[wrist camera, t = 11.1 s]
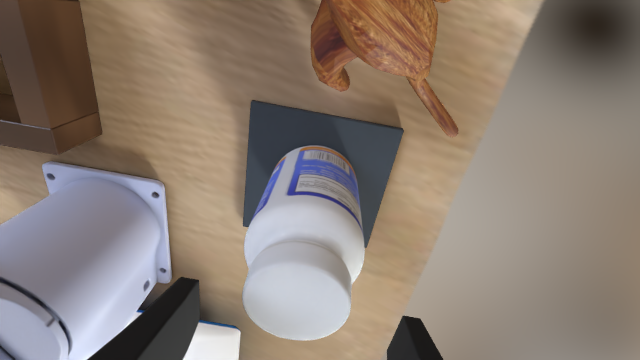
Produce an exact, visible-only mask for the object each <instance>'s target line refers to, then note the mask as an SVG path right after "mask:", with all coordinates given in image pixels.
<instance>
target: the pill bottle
mask: <svg viewBox="0 0 640 360" xmlns="http://www.w3.org/2000/svg"><path fill="white" fill-rule="evenodd" d="M244 253H245V258H246V262H247V265H248V267H249V271H248V275H247V278H246V281H245V285H244V288H243V292H242V301H243V306H244V309H245V311H246V313H247V314H248V316H249V317H250V319H251V320H252V321H253V322H254V323H255V324H256V325H258V326H259V327H260V328H262V329H263V330H265V331H267V332H269V333H271V334H273V335H275V336H278V337H281V338H285V339H291V340H314V339H319V338H322V337H326V336H328V335H330V334H332V333H334V332H335V331H337V330H338V329H339V328H340V327H341V326H342V325H343V324H344V323H345V321H346V320H347V318H348V316H349V313H350V309H351V289H352V283H353V282H354V281H355V280H356V278H357V277H358V275H359V273H360V271H361V269H362V266H363V262H364V253H365V250H364V237H363V228H362V220H361V211H360V203H359V194H358V186H357V179H356V176H355V172H354V170H353V168H352V166H351V164H350V163H349V162H348V160H347V159H346V158H345V157H344V156H343V155H341V154H340V153H339V152H337V151H335V150H333V149H331V148H328V147H324V146H317V145H310V146H304V147H300V148H297V149H295V150H292V151H291V152H289V153H287V154H286V155H285V156H284V157H283V158H282V159H281V160H280V161H279V163H278V164H277V166H276V167H275V169H274V171H273V173H272V176H271V178H270V180H269V182H268V185H267V187H266V189H265V191H264V194H263V196H262V198H261V200H260V202H259V205H258V207H257V209H256V212H255V214H254V216H253V218H252V220H251V223H250V225H249V228H248V230H247V233H246V236H245V241H244Z"/></svg>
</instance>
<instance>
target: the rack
mask: <svg viewBox="0 0 640 360" xmlns="http://www.w3.org/2000/svg"><path fill="white" fill-rule="evenodd" d="M0 54H1V58H2V61H3V64H4V68H5V71H6V74H7V77H8V81H9V84H10V87H11V90H12V94H13V96H11V95H6V94H1V93H0V145H4V146H10V147H15V148H21V149H26V150H32V151H38V152H43V153H49V154H54V155H59V154H61V153H63V152H65V151H67V150H69V149H71V148H73V147H76V146H78V145H80V144H82V143H84V142H86V141H88V140H90V139H92V138H94V137H97V136H99V135H101V134H102V129H101V123H100V118H99V112H98V105H97V99H96V94H95V88H94V82H93V77H92V71H91V65H90V60H89V54H88V48H87V43H86V37H85V32H84V26H83V20H82V15H81V9H80V3H79V0H0Z"/></svg>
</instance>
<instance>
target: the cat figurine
mask: <svg viewBox="0 0 640 360" xmlns="http://www.w3.org/2000/svg"><path fill="white" fill-rule="evenodd" d="M434 1H436V2H442V3H445V2H448V1H450V0H434ZM437 22H438V13H437V11H436V8H435V5H434V2H433V0H322V1H321V4H320V7H319V10H318V13H317V15H316V18H315V20H314V22H313V24H312V27H311V57H312V66H313V68H314V70H315V72H316V74H317V76H318V78H319V80H320V81H321V82H323V83H325V84H327V85H328V86H330V87H333V88H335V89H337V90H339V91H340V92H341V91H345V90H347V89H348V88H349V85H350V80H349V76H348V74H347V72H346V70H345V69H344V66H345V64H346V63H348V62H350V61H351V60H353V59H355V58H356V57H359V58H360V59H362V60H363V61H364V62H366V63H367V64H369V65H371V66H372V67H374V68H376V69H379V70H382V71H385V72H389V73H392V74H396V75H401V76H406V78H407V80H408V81H409V83H410V85H411V86H412V88H413V89H414V91H415V92H416V93H417V95H418V96H419V98H420V99H421V101H422V102H423V103H424V105H425V106H426V108H427V109H428V110H429V112H430V113H431V115H432V116H433V117H434V119H435V120H436V121H437V123H438V124H439V126H440V127H441V128H442V130H443V131H444V132H445V133H446V134H447V135H448V136H450V137H455V136H456V135H457V134H458V127H457V126H456V124H455V122H454V121H453V119H452V118H451V116H450V115H449V114H448V112H447V111H446V109H445V108H444V106H443V105H442V104H441V102H440V101H439V99H438V98H437V96H436V95H435V93H434V92H433V90H432V89H431V87H430V86H429V84H428V82H427V81H426V79H425V77H427V76H428V74H429V71H430V67H431V62H432V57H433V52H434V47H435V42H436V35H437Z"/></svg>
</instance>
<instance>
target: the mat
mask: <svg viewBox="0 0 640 360" xmlns="http://www.w3.org/2000/svg"><path fill="white" fill-rule="evenodd" d="M403 132H404V130H403V128H398V127H393V126H387V125H382V124H377V123H372V122H366V121H361V120H356V119H350V118H345V117H340V116H334V115H329V114H324V113H318V112H313V111H308V110H302V109H297V108H292V107H286V106H281V105H276V104H270V103H265V102H260V101H254V100H252V101H251V108H250V124H249V139H248V155H247V170H246V186H245V201H244V217H243V226H245V227H249V225H250V223H251V220H252V218H253V216H254V214H255V212H256V209H257V207H258V205H259V202H260V200H261V198H262V196H263V194H264V191H265V189H266V187H267V185H268V182H269V180H270V178H271V176H272V173H273V171H274V169H275V167H276V166H277V164H278V163H279V161H280V160H281V159H282V158H283V157H284V156H285V155H286V154H287V153H289V152H291V151H292V150H295V149H297V148H300V147H304V146H310V145H317V146H324V147H328V148H331V149H333V150H335V151H337V152H339V153H340V154H341V155H343V156H344V157H345V158H346V159H347V160H348V162H349V163H350V164H351V166H352V168H353V170H354V172H355V176H356V179H357V186H358V194H359V203H360V211H361V220H362V228H363V237H364V248H367V245H368V241H369V238H370V235H371V232H372V229H373V226H374V223H375V219H376V216H377V213H378V210H379V207H380V204H381V201H382V197H383V194H384V191H385V188H386V185H387V182H388V179H389V176H390V172H391V169H392V166H393V163H394V160H395V157H396V154H397V150H398V147H399V144H400V141H401V138H402V135H403Z"/></svg>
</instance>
